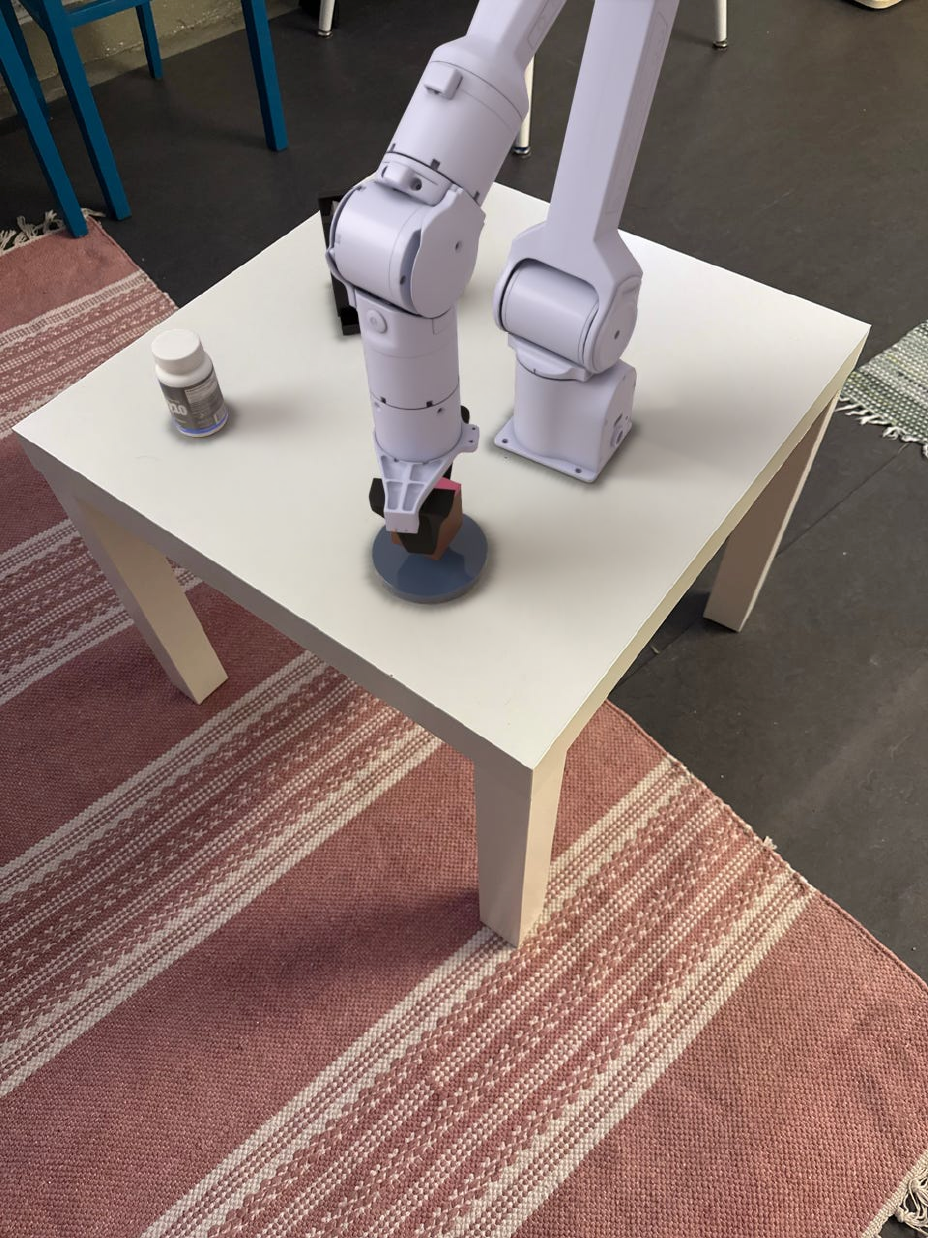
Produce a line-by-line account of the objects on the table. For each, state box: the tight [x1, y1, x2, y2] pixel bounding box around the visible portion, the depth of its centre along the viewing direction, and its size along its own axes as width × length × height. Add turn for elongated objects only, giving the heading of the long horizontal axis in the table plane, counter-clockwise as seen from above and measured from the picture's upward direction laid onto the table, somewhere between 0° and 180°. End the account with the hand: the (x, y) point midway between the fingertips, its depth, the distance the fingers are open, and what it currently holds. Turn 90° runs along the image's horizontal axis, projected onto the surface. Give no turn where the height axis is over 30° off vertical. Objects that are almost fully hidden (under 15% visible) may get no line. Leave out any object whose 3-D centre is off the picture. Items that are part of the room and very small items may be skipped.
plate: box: [371, 512, 489, 605], centre depth 71 cm, size 9×9×1 cm
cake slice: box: [390, 477, 464, 561], centre depth 68 cm, size 4×4×4 cm
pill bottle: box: [150, 328, 229, 438], centre depth 78 cm, size 5×5×8 cm
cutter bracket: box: [316, 186, 361, 336], centre depth 86 cm, size 4×8×11 cm, turn 11°
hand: (427, 521), depth 68 cm, fingers closed on cake slice, 5 cm apart
